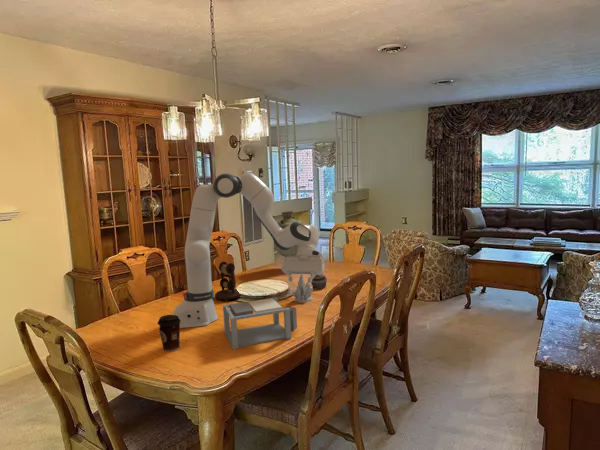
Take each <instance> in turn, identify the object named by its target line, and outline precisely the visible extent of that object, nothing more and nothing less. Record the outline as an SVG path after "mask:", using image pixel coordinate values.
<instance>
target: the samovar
mask: <svg viewBox="0 0 600 450" xmlns="http://www.w3.org/2000/svg"><path fill="white" fill-rule="evenodd" d="M293 213H294V211H293V210H291V211H289V210H288V211H287V210H286V211H280V214H281V215H282V218H283V219H281V220H280V221H276V223H277V224H278V225H279V227H280V228H282V229H284V228H286V227H287V226H288V225H290V224H292V223H294V222H299V223H301V224H303V220H298V219H297V220H296V219H295V217H294V216H293ZM275 251H276V252H277V253H278V254H279V255H280V256H283V257H284V258H285V257H287V256H289V255H291V256H293V255H297V251H298V245H294V246H293V247H291V248H290V249H289V250H281V249H280V248H278V247H277V246H276V245H275ZM280 271H282V269H281V270H280ZM282 272H283V271H282Z"/></svg>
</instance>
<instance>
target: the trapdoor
mask: <svg viewBox="0 0 600 450" xmlns="http://www.w3.org/2000/svg"><path fill="white" fill-rule="evenodd" d="M271 298H272V299H269V298H264V299H265V300H262V299H258V300H259V301H256V300H251V301H252V302H249V301H243V302H237V303H229V305H230V308H229V309H230V311H231V312H232V314H233V315H234V316H235V317H236V316H242V315H248V314H254V313H260V312H266V311H272V310H279V309H283V307H282V305H280V304H279V302H278V303H277V302H276V301H275V300H274V299H273V298H274V297H271ZM247 302H248V303H247Z"/></svg>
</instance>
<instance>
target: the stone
mask: <svg viewBox="0 0 600 450" xmlns="http://www.w3.org/2000/svg"><path fill="white" fill-rule="evenodd" d="M286 308H289V309H290V323H291V332H295V330H296V329H297V328H298V319H297V318H298V317H297V316H298V315H297V307H295V306H294V307H291V306H287V307H286Z"/></svg>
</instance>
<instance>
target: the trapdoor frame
mask: <svg viewBox="0 0 600 450" xmlns="http://www.w3.org/2000/svg"><path fill="white" fill-rule="evenodd" d="M272 298H273V299H274V300H275V301H276V302H277V303H278V304H279V297H277V296H273V297H270V298H268V299H272ZM265 299H266V298H264V299H261V300H265ZM259 300H260V299H258V300H255V301H259ZM252 301H253V300H251V301H246V302H247V303H248V302H252ZM222 311H223V312H222V313H223V315H222V316H223V326H224V327H223V328H224V334H225V336H226V339H227V340H228V342H229V344H230V345H231V347H232V350H237V349H239V348H242V347H248V346H253V345H258V344H263V343H267V342H268V343H269V342H274V341H279V340H284V339H286V340H290V339H292V331H291V323H290V309H289V308H287V307H284V308H282V309H279V310H272V311H266V312H260V313H255V312H253V314H248V315H242V316H236V317H235V316H234V315H233V314H232V312H231V311H230V304H222ZM279 313H280V314H281V313H283V322H284V327H283V326H282V325H281V324H280V314H279ZM269 315H272V316H273V317H272V318H273V320H272V321H273V323H270V324H266V325H265V324H264V325H260V326H259V325H258V326H253V327H247V328H243V329H238V324H237V323H238V322H237V321H239V320H244V319H251V318H257V317H263V316H269Z"/></svg>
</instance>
